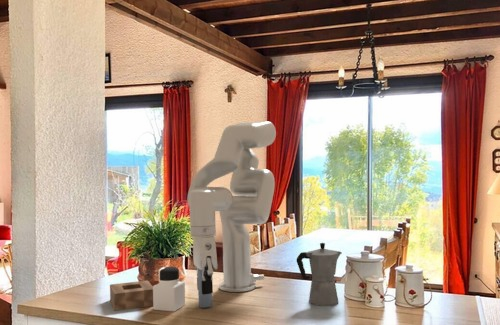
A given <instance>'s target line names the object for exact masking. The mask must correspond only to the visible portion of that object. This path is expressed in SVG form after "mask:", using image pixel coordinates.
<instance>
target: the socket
mask: <svg viewBox="0 0 500 325" xmlns="http://www.w3.org/2000/svg"><path fill="white" fill-rule="evenodd" d="M153 286H154V285H152V284H151V282H150V281H149V280H139V281H138V280H137V281H131V282H123V283H114V284H109V300H110V303H111V306H112V308H113V310H114V311H121V310H130V309H138V308H145V307H153Z"/></svg>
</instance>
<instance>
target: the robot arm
mask: <svg viewBox="0 0 500 325" xmlns="http://www.w3.org/2000/svg"><path fill="white" fill-rule="evenodd" d="M223 129H224V128H223ZM276 136H277V131H276V127H275V125H274V123H273V122H271V121H267V120H266V121H253V122H252V121H251V122H249V121H247V122H239V123H235V124H231V125H228V126H226V127H225V129H224V130H223V131H222V134H221V136H220V140H219V143H218V145H217V147H216V151H215V154H214V157H213V158H212V159H211V160H210V161H208V162H207V163H206V164H205V165H204V166H202V167H201V168H200V169H199V170H198V171H197V172H196V173H195V175H194V176H193V178H192V181H191V182H190V183H191V184H190V186H189V189H188V193H187V204H188V206H189V229H190V230H189V231H190V237H191V238H192V239H193V240H192V256H193V257H192V258H193V259H192V260H193V264H194V265H193V266H195V267H196V276H197V277H196V281H197V282H196V287H197V289H196V290H198V268H199V269H200V270H202V279H203V281H202V294H203V295H204V294H211V293H212V294H213V293H214V292H213V290H214V288H213V275H214V270H217V269H218V257H217V256H218V255H217V246H216V237H215V236H216V235H217V232H216V212H219V217H220V222H221V229H222V230H221V231H222V266H223V267H222V268H223V282H220V283H219V284H218V285H219V286H218V287H219V290H221V291H223V292H228V293H229V292H230V293H245V292H248V291H252V290H254V289H256V287H257V285H256V281H263V280H264V281H265V274H257V273H256V274H254V273H252V264H251V263H252V262H251V261H252V259H251V258H252V257H251V255H252V254H251V253H252V252H251V235H250V232H249V231H248V229H247V227H246V226H245V225H263V224H266V223H267V221H268V220H269V217H270V214H271V208H272V203H273V197H274V193H275V185H276V184H275V183H276V182H275V177H274V174H273V172H272V171H271V170H269V169H266V168H259V163H260V162H259V161H260V160H259V157H258V156H257V154H256V153H255V151H254V150H253V149H260V148H264V147H265V148H266V147H269V146H271V145H272V144H273V143H274V142H275V140H276ZM231 173H232V174H231ZM229 174H231V179H230V184H229V189H228V188H227V187H223V186H209V185H210V184H211V183H212V182H213V181H215V180H217V179H219V178H222V177H225V176H227V175H229ZM204 268H207V270H205V269H204ZM205 272H207V273H206V274H205Z"/></svg>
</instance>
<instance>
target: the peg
mask: <svg viewBox="0 0 500 325" xmlns="http://www.w3.org/2000/svg"><path fill="white" fill-rule="evenodd" d="M204 269H205V270H207V268H204ZM206 273H207V272H205V274H206ZM202 281H203V279H202V270H200V269H199V268H198V289H197V291H198V294H197V296H198V307H199V308H210V307H212V306H213V293H211V294H204V295H203V294H202Z"/></svg>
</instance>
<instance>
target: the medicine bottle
mask: <svg viewBox="0 0 500 325" xmlns="http://www.w3.org/2000/svg"><path fill="white" fill-rule="evenodd" d="M152 286H153V306H152V307H153V308H152V309H153V310H154V311H165V312H176V311H177V310H180V308H182V307H183V306H185V305H186V287H185V286H186V284H185V282H184V281H180V269H179V267H176V266H170V265H169V266H163V267H161V268H159V269H158V283H157V284H154V285H152Z"/></svg>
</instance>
